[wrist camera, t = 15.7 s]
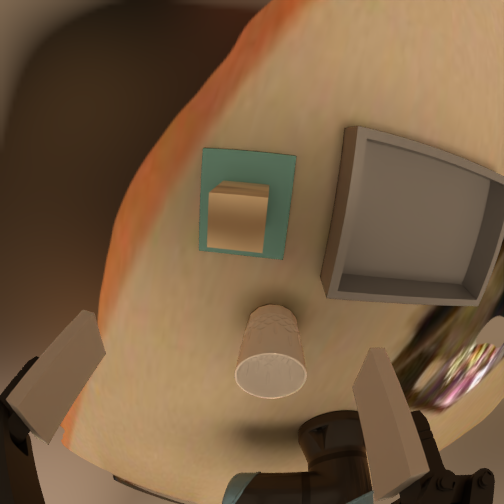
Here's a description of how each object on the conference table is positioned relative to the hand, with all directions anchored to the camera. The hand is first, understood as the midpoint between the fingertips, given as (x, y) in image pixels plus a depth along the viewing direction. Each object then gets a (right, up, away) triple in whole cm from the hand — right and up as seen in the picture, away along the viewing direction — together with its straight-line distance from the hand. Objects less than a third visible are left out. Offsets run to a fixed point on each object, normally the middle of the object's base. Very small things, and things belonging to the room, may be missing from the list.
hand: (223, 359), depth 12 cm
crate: (+22, +9, +18) cm, 30 cm away
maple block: (0, +10, +18) cm, 21 cm away
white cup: (+4, -5, +25) cm, 26 cm away
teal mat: (0, +10, +19) cm, 22 cm away
